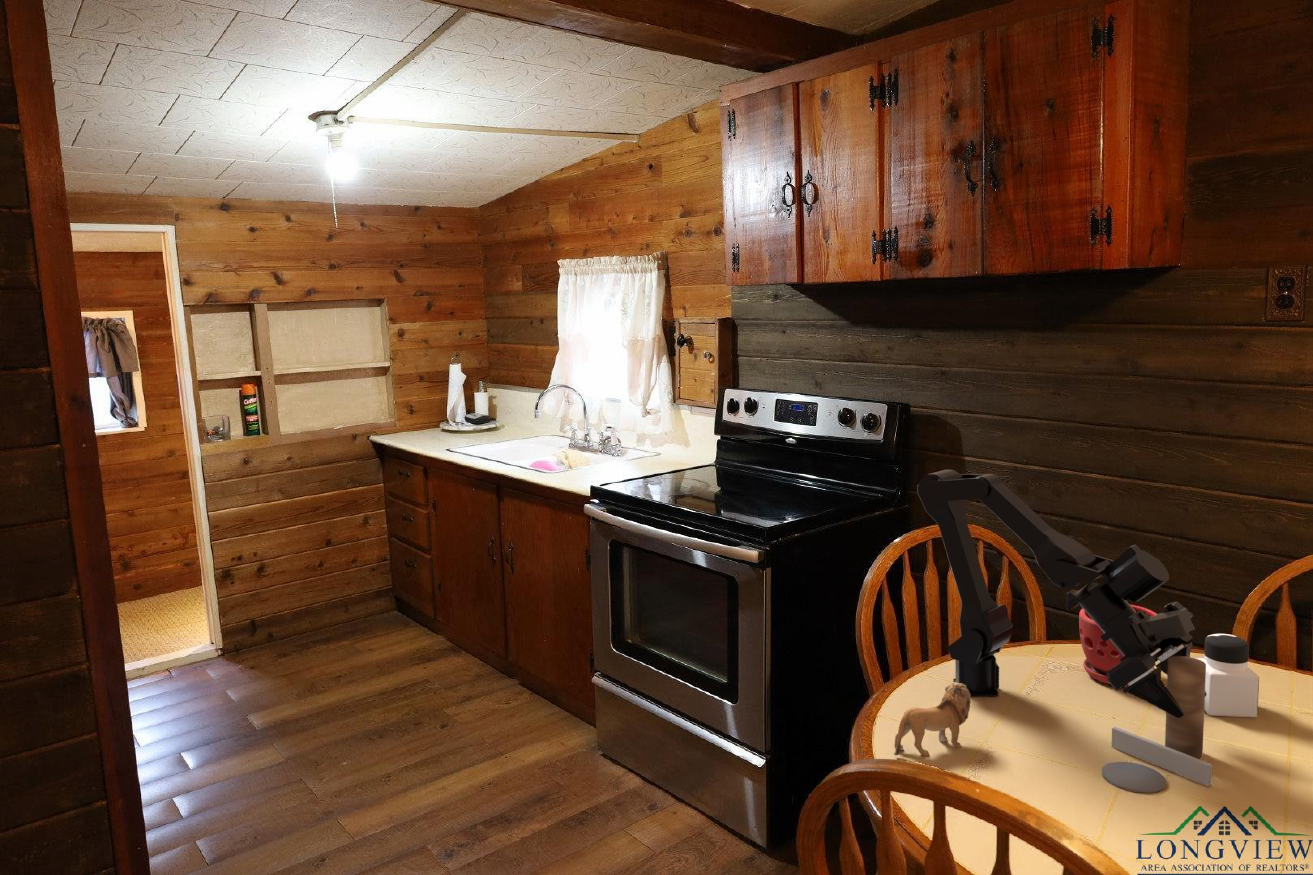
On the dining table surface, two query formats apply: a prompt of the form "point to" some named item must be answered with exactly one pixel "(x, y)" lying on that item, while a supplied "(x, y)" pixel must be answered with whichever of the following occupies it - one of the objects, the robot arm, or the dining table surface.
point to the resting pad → (1133, 777)
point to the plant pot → (1099, 647)
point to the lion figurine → (936, 718)
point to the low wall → (1162, 756)
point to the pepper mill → (1186, 705)
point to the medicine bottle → (1229, 677)
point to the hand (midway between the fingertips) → (1193, 706)
